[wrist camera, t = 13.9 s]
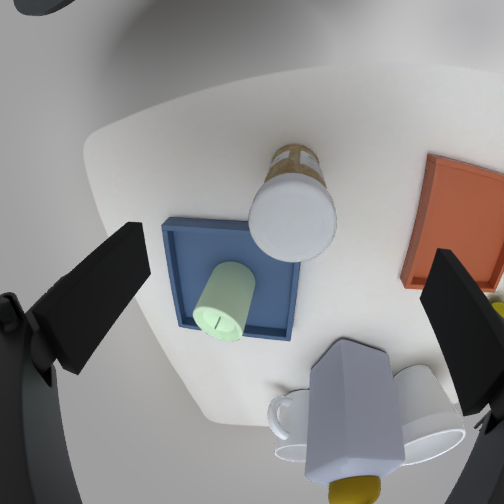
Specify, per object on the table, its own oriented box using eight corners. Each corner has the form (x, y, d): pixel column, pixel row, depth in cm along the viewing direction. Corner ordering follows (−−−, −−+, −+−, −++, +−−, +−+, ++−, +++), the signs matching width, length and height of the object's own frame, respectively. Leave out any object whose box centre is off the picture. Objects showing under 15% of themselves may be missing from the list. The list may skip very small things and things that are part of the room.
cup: (407, 402, 41) (417, 467, 30) (360, 389, 40) (365, 464, 28) (457, 363, 35) (479, 431, 23) (414, 343, 34) (436, 426, 22)
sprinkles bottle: (266, 148, 25) (236, 190, 14) (315, 139, 24) (331, 174, 13) (277, 194, 27) (258, 270, 16) (324, 186, 26) (342, 259, 15)
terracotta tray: (427, 153, 23) (436, 157, 21) (520, 180, 21) (530, 185, 19) (399, 277, 30) (404, 288, 28) (487, 283, 28) (494, 292, 26)
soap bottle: (391, 351, 35) (414, 523, 14) (355, 385, 40) (358, 536, 18) (339, 333, 35) (343, 533, 13) (306, 371, 39) (292, 538, 18)
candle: (231, 303, 34) (214, 355, 27) (203, 274, 33) (178, 323, 26) (264, 285, 32) (253, 338, 25) (235, 252, 31) (215, 301, 23)
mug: (255, 389, 43) (244, 443, 34) (294, 371, 40) (288, 432, 31) (301, 416, 46) (297, 465, 37) (339, 401, 43) (339, 454, 34)
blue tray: (169, 217, 30) (161, 225, 29) (303, 225, 29) (303, 235, 27) (183, 316, 37) (178, 326, 36) (291, 329, 36) (290, 341, 34)
